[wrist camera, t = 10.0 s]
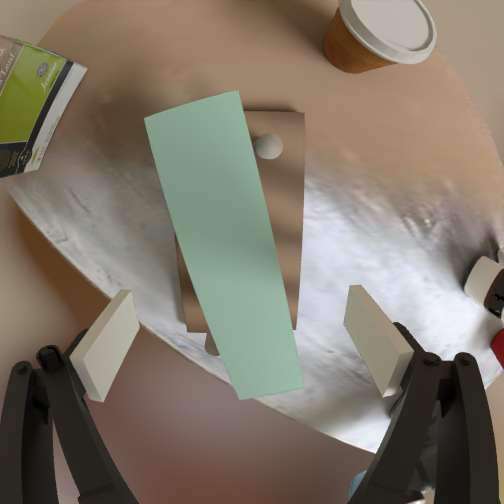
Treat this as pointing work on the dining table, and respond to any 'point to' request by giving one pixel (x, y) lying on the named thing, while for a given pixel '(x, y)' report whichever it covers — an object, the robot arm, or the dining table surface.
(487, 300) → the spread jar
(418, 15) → the disposable coffee cup
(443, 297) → the dining table surface
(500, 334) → the plastic cup
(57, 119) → the tea box
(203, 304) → the shelf board
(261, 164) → the peg rack
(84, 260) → the dining table surface
